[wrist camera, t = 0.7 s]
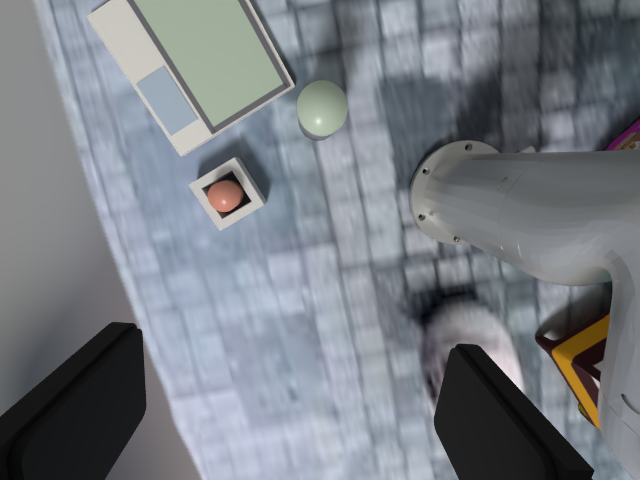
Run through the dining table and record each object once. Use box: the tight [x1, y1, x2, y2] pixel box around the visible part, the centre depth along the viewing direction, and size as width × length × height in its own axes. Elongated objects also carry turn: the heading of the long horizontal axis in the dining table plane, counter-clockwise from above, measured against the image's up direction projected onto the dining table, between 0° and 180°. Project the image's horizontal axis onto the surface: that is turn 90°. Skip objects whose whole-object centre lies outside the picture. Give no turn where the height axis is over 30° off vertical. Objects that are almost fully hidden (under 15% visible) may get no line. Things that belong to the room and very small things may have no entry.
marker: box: [297, 80, 348, 141], centre depth 31 cm, size 4×4×9 cm
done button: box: [208, 180, 244, 212], centre depth 34 cm, size 3×3×3 cm
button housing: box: [189, 157, 267, 231], centre depth 35 cm, size 6×6×3 cm
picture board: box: [87, 0, 295, 156], centre depth 32 cm, size 15×16×1 cm
